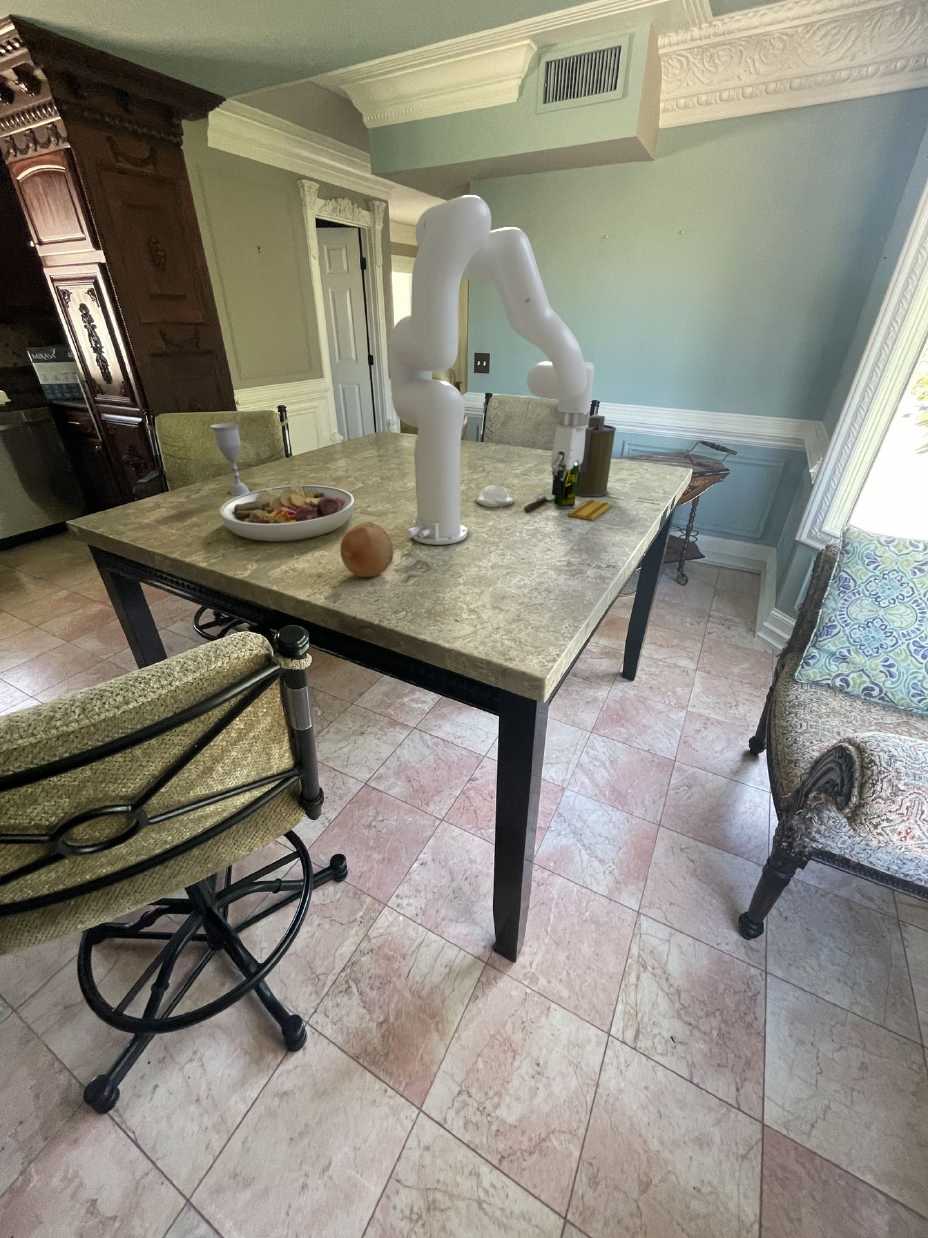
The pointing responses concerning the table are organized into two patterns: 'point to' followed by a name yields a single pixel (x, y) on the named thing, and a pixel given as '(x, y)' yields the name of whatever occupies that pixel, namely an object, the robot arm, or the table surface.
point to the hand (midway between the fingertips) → (565, 491)
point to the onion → (366, 550)
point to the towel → (590, 509)
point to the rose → (494, 497)
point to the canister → (596, 458)
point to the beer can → (568, 489)
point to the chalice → (230, 450)
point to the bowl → (288, 512)
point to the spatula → (540, 501)
